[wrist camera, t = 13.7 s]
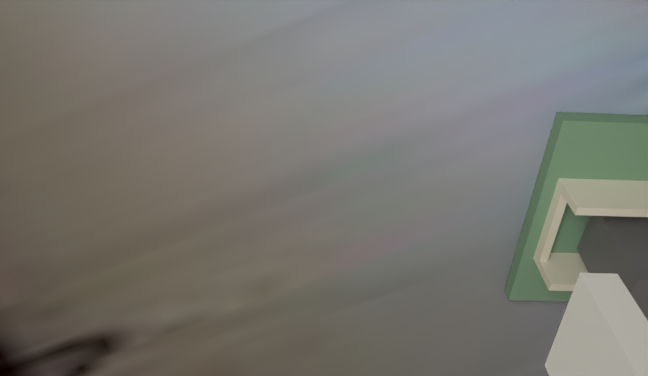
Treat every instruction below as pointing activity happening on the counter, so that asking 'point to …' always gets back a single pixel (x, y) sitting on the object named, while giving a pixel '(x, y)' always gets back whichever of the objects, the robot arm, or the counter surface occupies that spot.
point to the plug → (619, 252)
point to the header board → (578, 198)
